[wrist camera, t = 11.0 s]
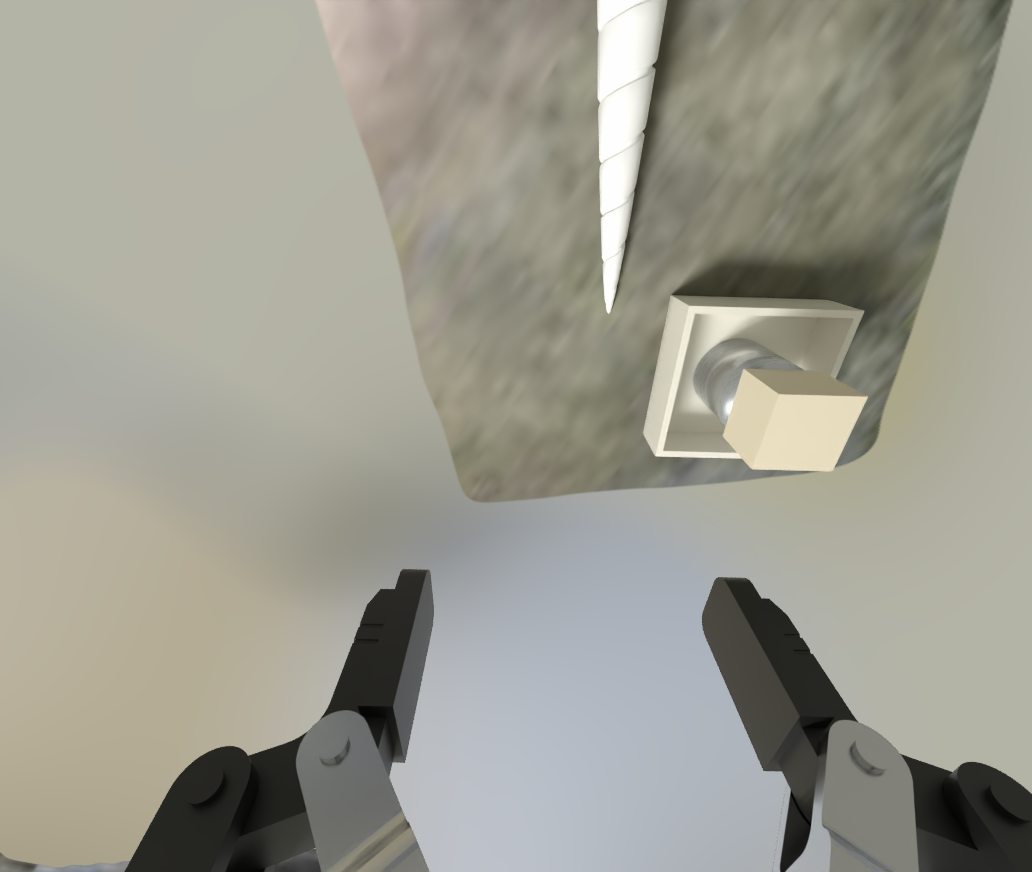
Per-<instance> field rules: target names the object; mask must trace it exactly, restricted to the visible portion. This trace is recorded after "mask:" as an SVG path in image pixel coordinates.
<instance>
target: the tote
mask: <svg viewBox="0 0 1032 872" xmlns="http://www.w3.org/2000/svg"><path fill="white" fill-rule="evenodd" d="M863 314H864V311H863V310H860V309H857V308H853V307H850V306H847V305H843V304H840V303H837V302H834V301H830V300H821V299H786V298H752V297H718V296H683V295H671V297H670V302H669V307H668V312H667V317H666V322H665V327H664V332H663V337H662V342H661V346H660V351H659V356H658V361H657V366H656V371H655V376H654V381H653V386H652V391H651V396H650V401H649V406H648V411H647V416H646V421H645V426H644V431H643V435H644V436H645V438H646V440H647V442H648V444H649V445H650V447H651V449H652V451H653V453H654V455H655V456H666V457H705V458H741V457H740V455H739V454H738V453H737V452H736V451H735V450H734V449H733V448H732V446H731V445H730V444H729V443H728V442H727V441H726V440H725V439H724V437H723V433H724V430H725V427H726V426H725V425H724V424H723V423H722V422H721V421H720V420H719V419H718V418H717V417H716V415H715V414H714V413H713V412H712V411H711V410H710V409H709V408H708V407H707V406H706V405H705V404H704V403H703V402H702V401H701V400H700V398H699V397H698V396H697V394H696V392H695V390H694V386H693V377H694V372H695V369H696V367H697V365H698V363H699V361H700V360H701V358H702V357H703V356H704V355H705V354H706V353H707V352H708V351H709V350H710V349H711V348H713V347H714V346H716V345H717V344H719V343H721V342H724V341H726V340H730V339H735V338H744V339H749V340H752V341H755V342H757V343H758V344H760V345H762V346H764V347H765V348H767V349H769V350H770V351H772V352H774V353H776V354H777V355H779V356H781V357H783V358H784V359H786V360H788V361H790V362H791V363H793V364H795V365H797V366H798V367H800V368H802V369H803V370H812V371H822V372H824V373H825V374H827V375H829V376H831V377H833V378H835V379H836V377H837V374H838V372H839V370H840V367H841V365H842V363H843V360H844V358H845V356H846V353H847V351H848V349H849V346H850V344H851V342H852V339H853V337H854V335H855V332H856V330H857V328H858V325H859V323H860V321H861V318H862V316H863Z"/></svg>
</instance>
